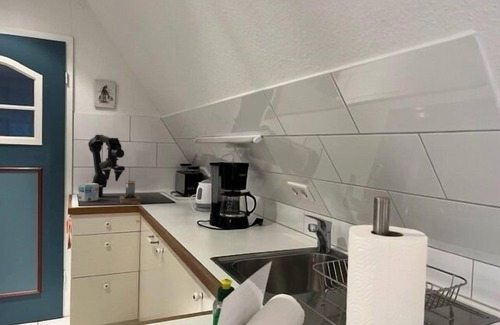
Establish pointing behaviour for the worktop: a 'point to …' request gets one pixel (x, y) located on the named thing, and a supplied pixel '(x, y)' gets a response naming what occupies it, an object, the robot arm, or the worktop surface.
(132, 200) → the holder
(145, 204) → the worktop surface
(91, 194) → the light bulb box
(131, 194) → the canister
